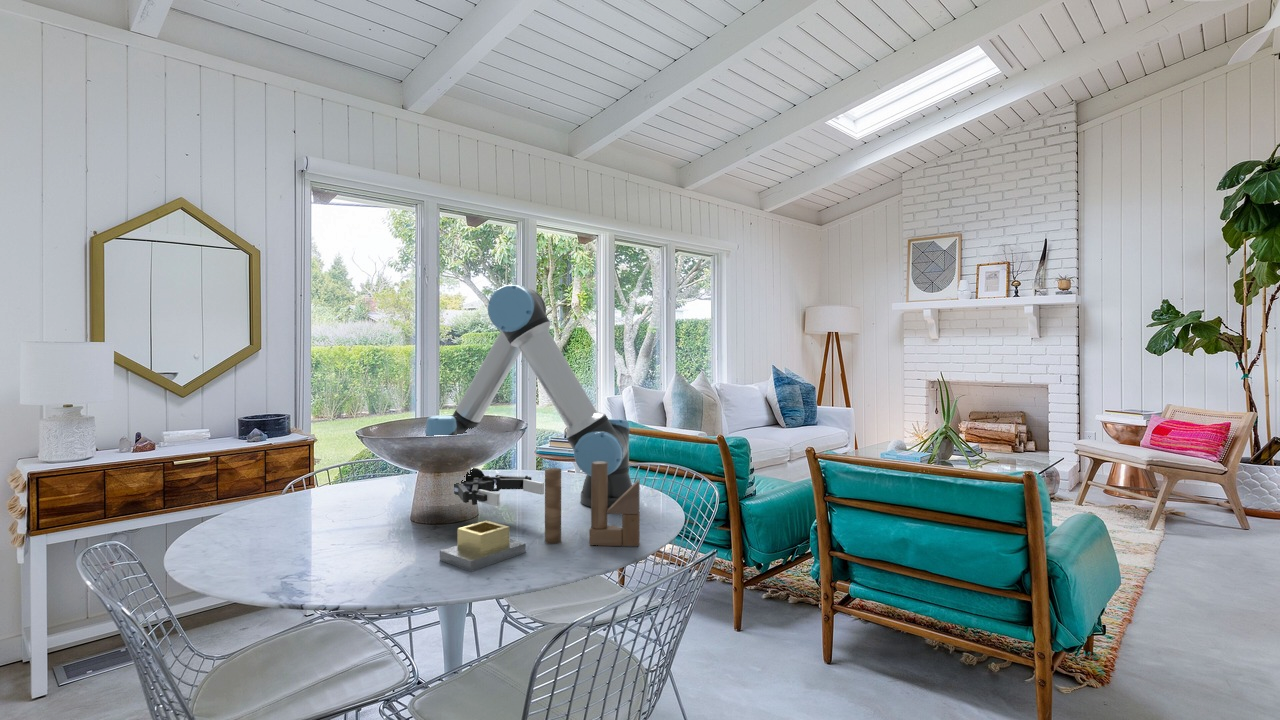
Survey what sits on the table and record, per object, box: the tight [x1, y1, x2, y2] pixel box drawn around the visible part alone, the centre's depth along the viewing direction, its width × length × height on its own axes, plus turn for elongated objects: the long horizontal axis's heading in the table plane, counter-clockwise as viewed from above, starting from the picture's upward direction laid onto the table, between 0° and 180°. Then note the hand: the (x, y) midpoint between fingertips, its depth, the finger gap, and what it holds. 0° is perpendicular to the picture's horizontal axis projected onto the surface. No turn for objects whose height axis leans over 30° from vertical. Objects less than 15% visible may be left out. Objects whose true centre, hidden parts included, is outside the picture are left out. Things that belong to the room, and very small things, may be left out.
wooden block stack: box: [588, 461, 641, 547], centre depth 139 cm, size 4×11×18 cm, turn 87°
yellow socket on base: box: [439, 520, 527, 572], centre depth 131 cm, size 14×10×6 cm
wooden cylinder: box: [544, 467, 562, 545], centre depth 141 cm, size 4×4×16 cm
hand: (521, 494), depth 147 cm, fingers open, 13 cm apart
